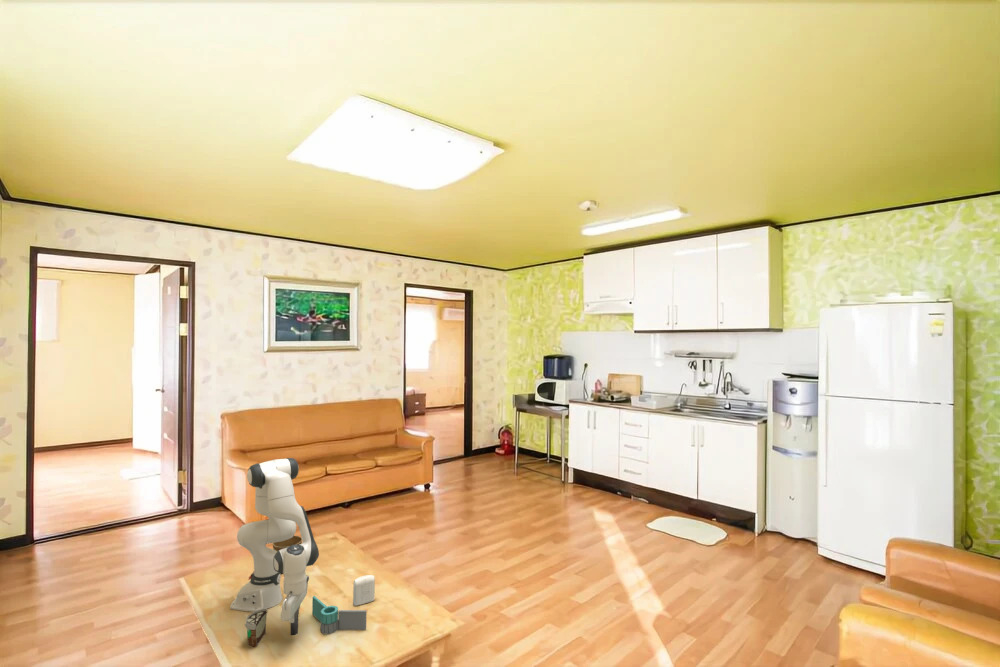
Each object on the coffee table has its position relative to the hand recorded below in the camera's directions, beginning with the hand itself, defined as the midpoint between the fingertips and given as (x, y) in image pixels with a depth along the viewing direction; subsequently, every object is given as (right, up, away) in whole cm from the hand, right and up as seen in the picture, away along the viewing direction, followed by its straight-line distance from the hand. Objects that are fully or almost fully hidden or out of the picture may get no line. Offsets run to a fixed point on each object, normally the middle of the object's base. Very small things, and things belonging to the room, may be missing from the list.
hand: (294, 618), depth 202 cm
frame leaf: (+18, -9, +8) cm, 22 cm away
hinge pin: (0, -6, 0) cm, 6 cm away
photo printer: (+21, -10, +30) cm, 37 cm away
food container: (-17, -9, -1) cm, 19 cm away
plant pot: (-30, -10, +61) cm, 69 cm away
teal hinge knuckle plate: (+8, -9, +12) cm, 17 cm away
